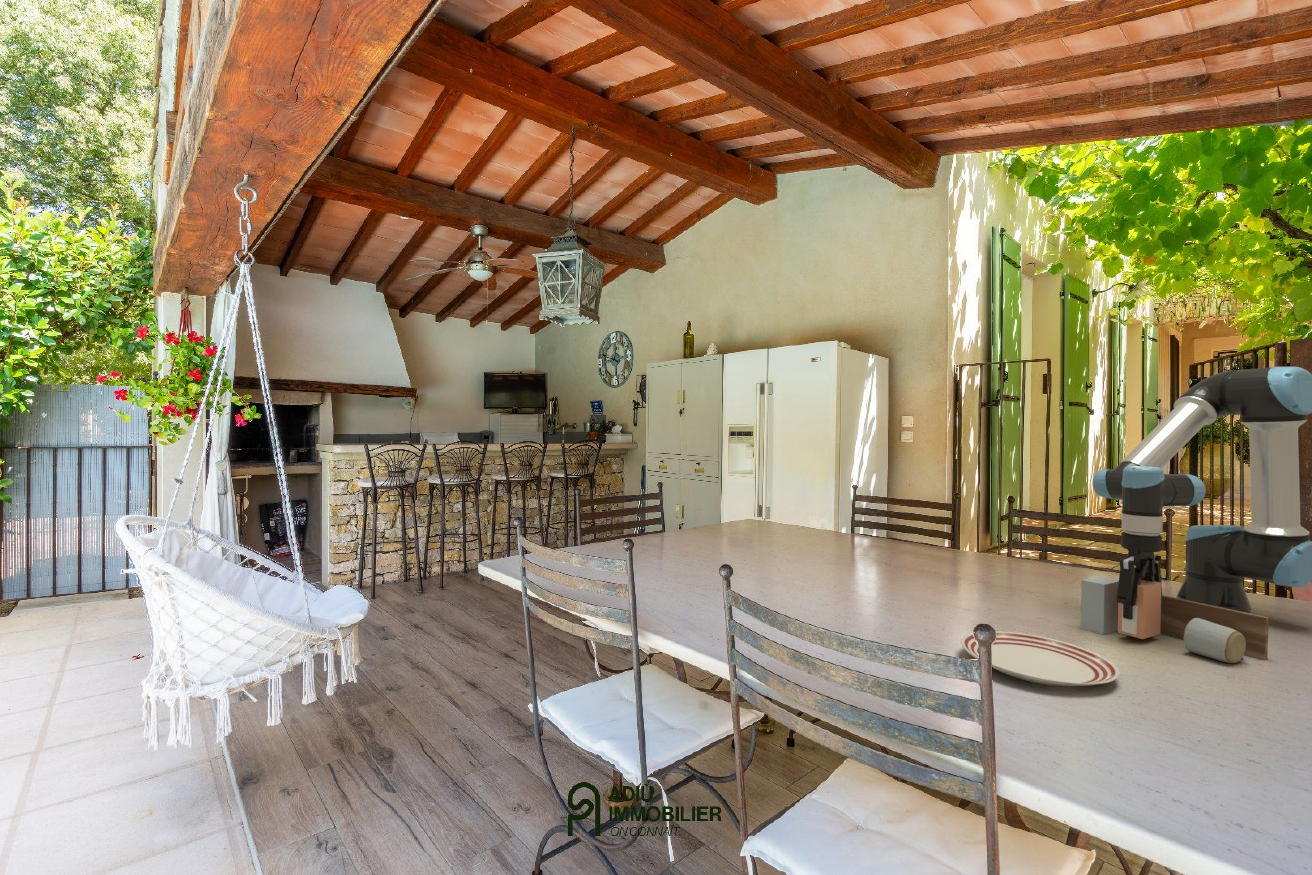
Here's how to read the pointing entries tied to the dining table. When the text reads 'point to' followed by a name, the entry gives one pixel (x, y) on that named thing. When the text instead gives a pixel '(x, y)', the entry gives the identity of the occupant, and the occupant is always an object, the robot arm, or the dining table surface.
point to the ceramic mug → (1214, 641)
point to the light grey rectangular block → (1099, 605)
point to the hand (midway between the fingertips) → (1139, 629)
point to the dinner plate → (1045, 660)
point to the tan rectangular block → (1145, 610)
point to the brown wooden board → (1248, 624)
